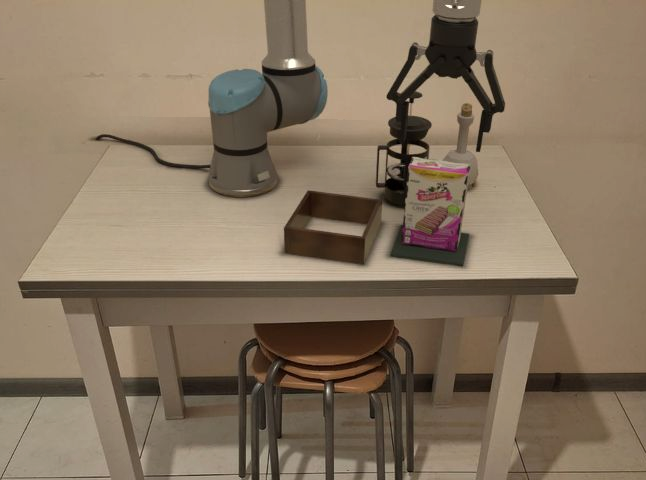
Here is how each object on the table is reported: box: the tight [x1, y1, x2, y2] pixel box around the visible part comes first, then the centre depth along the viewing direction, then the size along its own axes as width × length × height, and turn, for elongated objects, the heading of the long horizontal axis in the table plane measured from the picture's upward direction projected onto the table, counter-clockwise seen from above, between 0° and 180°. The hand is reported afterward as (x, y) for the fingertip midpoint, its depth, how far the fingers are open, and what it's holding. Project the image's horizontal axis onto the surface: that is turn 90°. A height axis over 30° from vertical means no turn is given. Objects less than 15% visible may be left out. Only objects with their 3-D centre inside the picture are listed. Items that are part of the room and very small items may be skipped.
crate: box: [283, 189, 383, 265], centre depth 137 cm, size 16×17×6 cm
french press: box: [375, 90, 433, 209], centre depth 146 cm, size 12×9×23 cm
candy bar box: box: [401, 157, 471, 252], centre depth 132 cm, size 11×5×16 cm, turn 77°
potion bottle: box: [442, 102, 479, 190], centre depth 154 cm, size 9×9×18 cm
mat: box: [389, 224, 470, 267], centre depth 137 cm, size 14×12×1 cm
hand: (440, 144), depth 124 cm, fingers open, 13 cm apart
